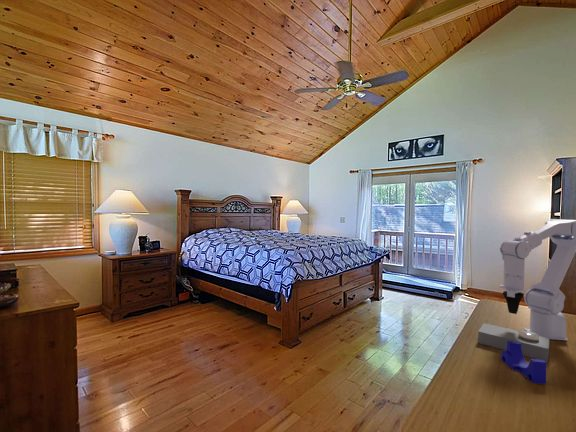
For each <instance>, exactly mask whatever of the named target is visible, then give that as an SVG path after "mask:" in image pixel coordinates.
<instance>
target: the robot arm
mask: <svg viewBox="0 0 576 432" xmlns="http://www.w3.org/2000/svg"><path fill="white" fill-rule="evenodd" d="M548 238H550V240H551V241H552V243H554V244H555V245H556V249H555V250H554V253H553V254H552V256H551V259H550V261H549V263H548V266H547V268H546V270H545V272H544V274H543V276H542V278H541V280H540V282H537V283H535V284H532V285H531V286H530V288H529V289H528V290H527V291H526V292H525V265H526V264H525V262H526V258H527V257H528V256H529V255H530V253H531V252H532V250H534V249H536V248H538V247H539V246H541V245H542V243H543V240H546V239H548ZM499 252H500V254H501V256H502V257H501V258H502V261H503V284H499V285H498V286H499V288H501V289H503V290H504V291H503V292H502V295H503V297H504V299H505V301H506V305H507V310H508V313H509V314H514V315H517V314H518V312H519V306H520V303H521V300H522V299H524V303H525V304H526V306H528V309H529V310H530V312H529V313H530V315H529V328H527V327H525V328H523V331H530V332H533V333H536V334H538V335H539V336H542V337H547V338H549V340H555V341H556V340H557V341H568V338H567V320H566V316H565V315H564V314H563V313H562V311H563V310H564V308H565V300H566V295H565V294H564V293H563V292H562V290H560V287H561V285H562V283H563V281H564V279H565V276H566V274H567V273H568V270H569V267H570V265H571V263H572V260H573V258H574V256H575V255H576V219H560V218H559V219H557V218H550V219H549V220H546V221H545V222H544V225H543V226H541V227H540V228H538V229H537V230H535V231H529V230H528V231H527V230H526V231H524V233H523V234H522V235H520V236H516V237H514V239H512V240H505V241H504V242H502V243H501V246H500V247H499ZM524 292H525V293H524Z"/></svg>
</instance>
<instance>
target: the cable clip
mask: <svg viewBox="0 0 576 432" xmlns="http://www.w3.org/2000/svg"><path fill="white" fill-rule="evenodd" d="M500 351H501V353H500V357H501V358H500V360H501V361H502V362H504V364H505V365H507V366H508V367H509V368H510V369H511V370H512V371H519V373H521V374H522V375H523V376H525V378H527V380H529V381H530V382H531V383H533V384H540V385H546V384H547V366H548V365H547V363H548V362H547V361H544V360H542V359H536V358H529V363H527V361H526V359H525V357H524V356H525V355H523V354H522V349H521V344H520V343H519V342H514V341H507V351H506V350H503V349H500Z"/></svg>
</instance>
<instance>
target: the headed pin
mask: <svg viewBox="0 0 576 432" xmlns="http://www.w3.org/2000/svg"><path fill="white" fill-rule="evenodd" d="M518 331H519V332H518V337H519V338H521V339H523V340H526V341H530V342H538V341H539V335H538V334H536V333H533V332H530V331H526V330H524V329H523V330H521V329H520V330H518Z"/></svg>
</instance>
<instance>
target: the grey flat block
mask: <svg viewBox="0 0 576 432" xmlns="http://www.w3.org/2000/svg"><path fill="white" fill-rule="evenodd" d="M519 331H520V330H516V329H511V328H507V327H502V326H499V325H494V324H489V323H483V324H482V325H481V327H480V328H479V329H478V331H477V333H478V335H477V336H478V337H477V342H478V344H481V345H485V346H488V347H492V348H495V349H500V350H504V351H507V341H514V342H519V343H520V344H521V349H522V354H523V356H525V357H528V358H529V357H530V358H531V359H542V360H544V361H545V362H547V363H548V362H549V358H550V357H549V356H550V355H549V354H550V339H549V338H547V337H542V336H539V341H538V342H530V341H526V340H523V339H521V338H519V337H518V332H519Z"/></svg>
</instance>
